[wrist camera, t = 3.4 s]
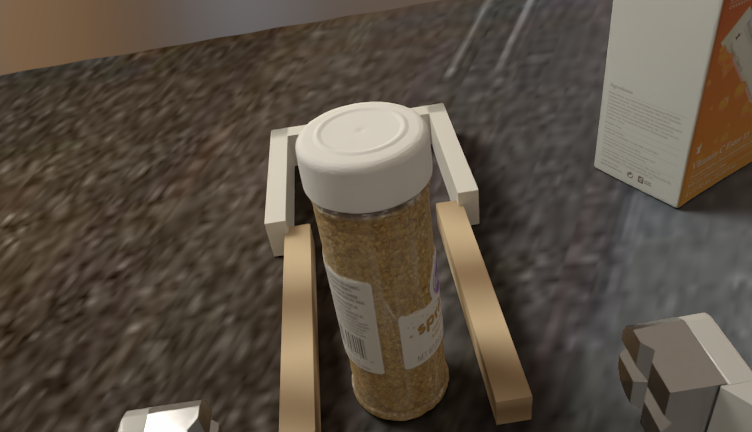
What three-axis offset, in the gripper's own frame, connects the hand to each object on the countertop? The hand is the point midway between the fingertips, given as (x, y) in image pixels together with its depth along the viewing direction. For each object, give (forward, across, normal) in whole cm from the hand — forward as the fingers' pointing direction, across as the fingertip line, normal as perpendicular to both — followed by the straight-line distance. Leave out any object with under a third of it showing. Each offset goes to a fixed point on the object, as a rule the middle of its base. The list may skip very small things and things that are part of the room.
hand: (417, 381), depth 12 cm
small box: (+24, -19, +14) cm, 34 cm away
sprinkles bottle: (+11, 0, +14) cm, 17 cm away
